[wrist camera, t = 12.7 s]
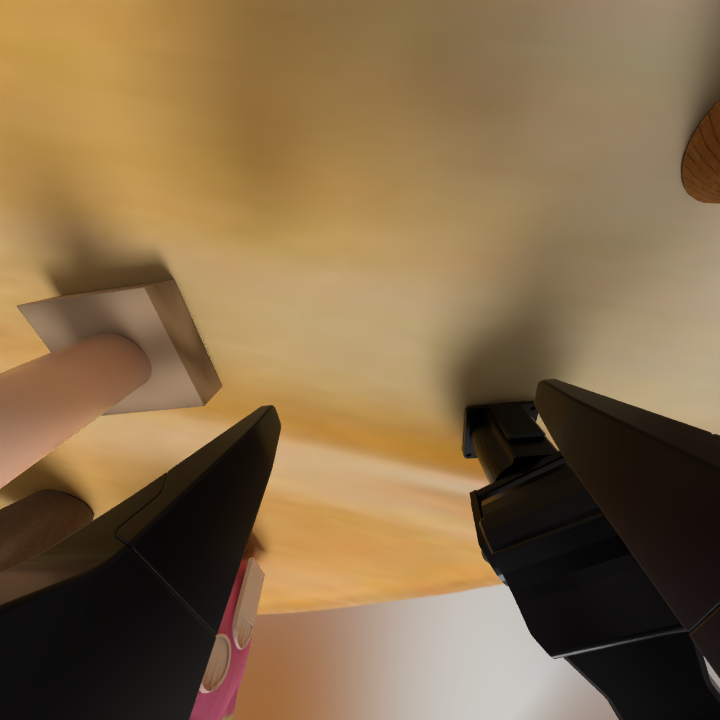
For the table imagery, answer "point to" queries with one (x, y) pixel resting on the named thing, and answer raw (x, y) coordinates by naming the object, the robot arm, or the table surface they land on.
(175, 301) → the base
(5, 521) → the plant pot
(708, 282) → the table surface
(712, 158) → the disposable coffee cup
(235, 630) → the pink dragon fruit
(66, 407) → the pillar
